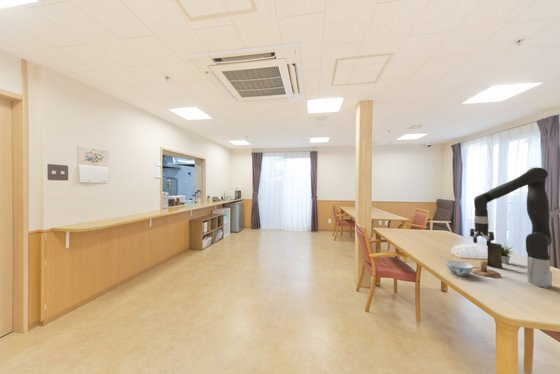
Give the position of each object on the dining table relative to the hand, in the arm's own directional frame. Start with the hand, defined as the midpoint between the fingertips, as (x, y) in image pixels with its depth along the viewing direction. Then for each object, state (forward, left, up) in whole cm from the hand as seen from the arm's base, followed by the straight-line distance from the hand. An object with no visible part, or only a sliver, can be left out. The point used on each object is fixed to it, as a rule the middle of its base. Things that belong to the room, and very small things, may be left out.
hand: (481, 244), depth 157 cm
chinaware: (+2, +20, -21) cm, 29 cm away
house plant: (+9, -40, -21) cm, 46 cm away
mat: (-2, +1, -21) cm, 21 cm away
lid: (-2, +1, -20) cm, 20 cm away
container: (+4, -22, -21) cm, 30 cm away
